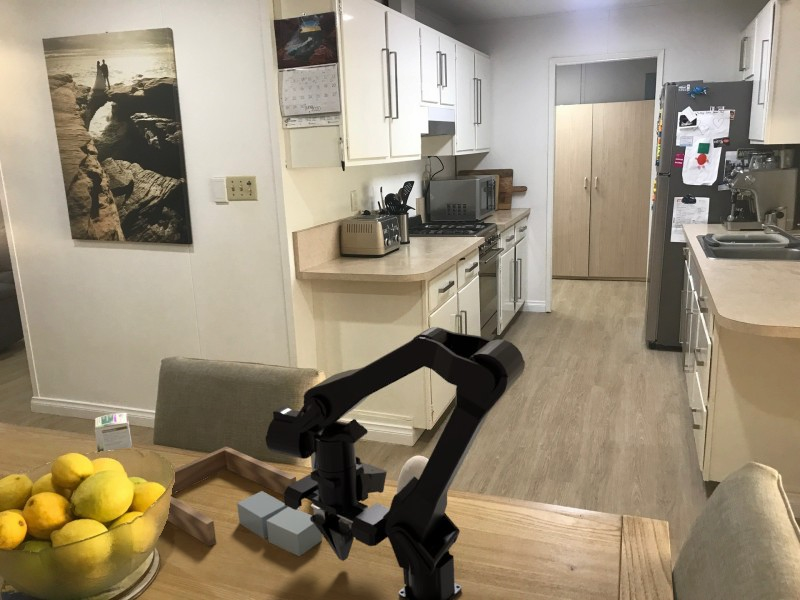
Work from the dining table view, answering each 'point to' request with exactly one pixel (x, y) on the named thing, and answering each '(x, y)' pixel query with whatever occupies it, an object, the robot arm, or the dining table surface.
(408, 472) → the egg
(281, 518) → the light grey block
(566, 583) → the dining table surface
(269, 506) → the pale grey block
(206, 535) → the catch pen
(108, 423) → the syrup box
